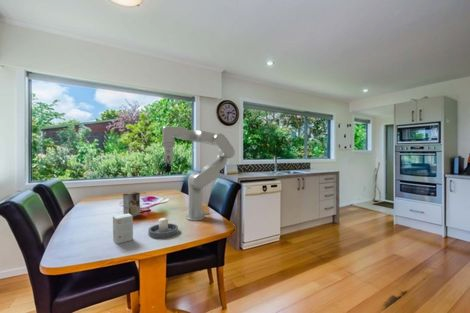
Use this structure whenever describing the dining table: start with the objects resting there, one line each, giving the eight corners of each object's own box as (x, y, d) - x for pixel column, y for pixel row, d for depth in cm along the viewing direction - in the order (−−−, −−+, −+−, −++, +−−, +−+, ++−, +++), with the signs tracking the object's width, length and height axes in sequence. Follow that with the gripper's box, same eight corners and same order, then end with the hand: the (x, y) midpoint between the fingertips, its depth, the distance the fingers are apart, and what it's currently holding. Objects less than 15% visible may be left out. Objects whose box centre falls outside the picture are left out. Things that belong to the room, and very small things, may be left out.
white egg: (168, 229, 133) (168, 217, 132) (167, 232, 128) (167, 220, 128) (159, 230, 131) (159, 218, 131) (158, 233, 127) (158, 221, 126)
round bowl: (177, 227, 139) (177, 222, 139) (177, 237, 124) (178, 232, 124) (150, 229, 135) (150, 224, 135) (146, 239, 120) (146, 234, 120)
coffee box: (134, 213, 168) (134, 191, 167) (140, 214, 165) (140, 192, 164) (123, 216, 160) (122, 193, 159) (128, 217, 157) (128, 194, 156)
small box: (129, 236, 124) (128, 212, 123) (133, 240, 119) (133, 215, 119) (112, 240, 118) (112, 215, 118) (116, 244, 114) (116, 218, 113)
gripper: (174, 145, 140) (174, 172, 141) (174, 145, 157) (174, 170, 158) (161, 145, 138) (161, 172, 139) (163, 145, 155) (163, 170, 156)
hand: (168, 171), depth 148 cm, fingers open, 9 cm apart
